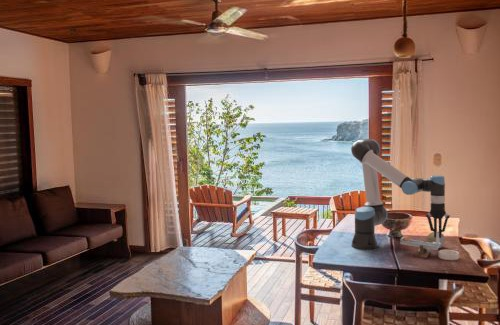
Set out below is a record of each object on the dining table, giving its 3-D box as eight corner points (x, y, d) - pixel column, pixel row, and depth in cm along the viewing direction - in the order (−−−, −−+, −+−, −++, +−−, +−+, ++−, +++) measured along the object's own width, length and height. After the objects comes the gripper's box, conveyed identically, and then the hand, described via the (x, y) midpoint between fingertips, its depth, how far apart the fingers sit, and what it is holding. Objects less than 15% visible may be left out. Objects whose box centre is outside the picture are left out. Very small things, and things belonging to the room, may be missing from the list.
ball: (402, 239, 265) (405, 235, 263) (403, 238, 268) (407, 234, 266) (406, 244, 264) (410, 239, 262) (408, 242, 267) (412, 238, 265)
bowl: (437, 258, 253) (437, 253, 253) (439, 253, 262) (440, 248, 261) (457, 261, 248) (457, 255, 247) (459, 256, 257) (459, 250, 256)
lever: (399, 244, 263) (399, 239, 262) (404, 238, 276) (405, 233, 276) (436, 251, 253) (437, 246, 253) (440, 244, 266) (441, 239, 266)
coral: (439, 239, 267) (426, 229, 275) (434, 252, 272) (422, 242, 280) (450, 235, 271) (438, 226, 279) (445, 249, 276) (433, 239, 284)
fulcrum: (415, 256, 258) (415, 245, 257) (419, 250, 268) (419, 240, 267) (426, 257, 255) (427, 246, 254) (430, 252, 265) (430, 241, 264)
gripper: (424, 203, 262) (424, 243, 264) (449, 204, 256) (449, 245, 257) (426, 201, 269) (426, 240, 270) (450, 202, 262) (450, 242, 264)
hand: (437, 243), depth 264 cm, fingers closed
